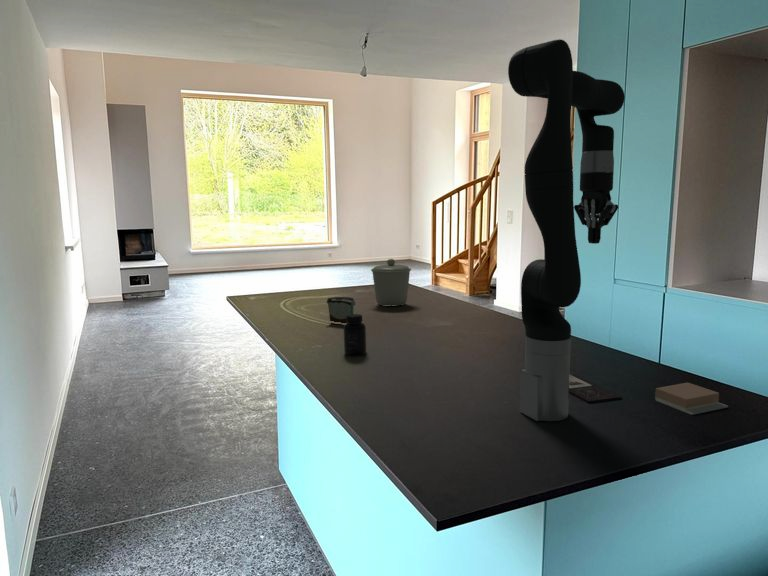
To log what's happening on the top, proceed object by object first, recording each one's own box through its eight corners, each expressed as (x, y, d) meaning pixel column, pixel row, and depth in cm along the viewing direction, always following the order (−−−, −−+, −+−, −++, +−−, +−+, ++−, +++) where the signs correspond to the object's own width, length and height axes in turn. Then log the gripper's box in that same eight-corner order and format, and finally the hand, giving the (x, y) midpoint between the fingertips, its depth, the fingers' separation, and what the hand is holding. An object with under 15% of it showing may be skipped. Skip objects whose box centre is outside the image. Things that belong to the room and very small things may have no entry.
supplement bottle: (371, 353, 170) (370, 315, 169) (355, 357, 165) (354, 318, 164) (355, 349, 175) (354, 312, 173) (339, 353, 170) (338, 315, 168)
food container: (362, 323, 213) (361, 298, 211) (353, 326, 208) (352, 300, 206) (336, 320, 219) (336, 295, 218) (327, 323, 214) (326, 298, 213)
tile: (655, 398, 126) (685, 410, 119) (655, 388, 126) (686, 399, 119) (687, 392, 130) (718, 403, 122) (687, 382, 129) (719, 392, 122)
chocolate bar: (588, 401, 125) (544, 377, 142) (588, 405, 125) (544, 381, 142) (621, 396, 127) (574, 374, 144) (621, 400, 127) (574, 377, 144)
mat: (691, 414, 117) (691, 413, 117) (655, 400, 126) (655, 399, 126) (728, 407, 121) (728, 405, 121) (690, 393, 130) (690, 392, 129)
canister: (368, 308, 243) (367, 261, 240) (375, 301, 261) (374, 257, 257) (409, 309, 240) (408, 261, 237) (413, 301, 258) (413, 256, 254)
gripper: (565, 172, 137) (563, 242, 140) (604, 169, 125) (601, 245, 128) (589, 173, 140) (587, 241, 143) (630, 169, 128) (626, 244, 131)
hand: (594, 243), depth 135 cm, fingers closed
